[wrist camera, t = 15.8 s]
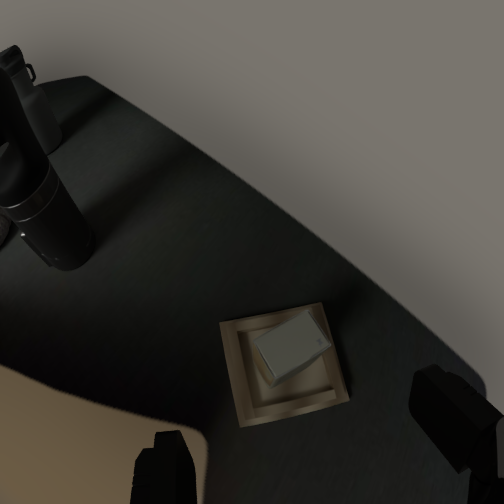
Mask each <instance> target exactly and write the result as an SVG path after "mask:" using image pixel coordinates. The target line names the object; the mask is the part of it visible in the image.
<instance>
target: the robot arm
mask: <svg viewBox="0 0 504 504" xmlns="http://www.w3.org/2000/svg"><path fill="white" fill-rule="evenodd" d="M6 142H9V145H8V147H7V149H6V151H5V152H4V154H3V155H2V156H1V158H0V207H1V208H2V209H3V210H4V211H5V213H6V214H7V215H8V216H9V217H10V218H11V220H12V221H13V222H14V223H15V224H16V225H17V227H18V228H19V229H20V230H21V233H20V236H21V238H22V239H23V240H24V241H25V242H26V243H27V244H28V246H29V247H30V248H31V249H32V250H33V251H34V252H35V253H36V254H37V255H38V256H39V257H40V258H41V259H42V260H43V261H44V262H45V263H46V264H47V265H48V266H49V267H50V266H54V267H56V268H57V269H59V270H62V271H69V270H73V269H76V268H78V267H79V266H81V265H82V264H83V263H84V262H85V261H86V260H87V259H88V258H89V257H90V255H91V253H92V251H93V248H94V245H95V236H94V232H93V231H92V229H91V228H90V226H89V225H88V223H87V222H86V220H85V218H84V217H83V215H82V214H81V212H80V211H79V209H78V207H77V206H76V204H75V203H74V201H73V199H72V198H71V196H70V195H69V193H68V191H67V190H66V188H65V186H64V185H63V183H62V181H61V180H60V178H59V176H58V175H57V173H56V171H55V170H54V168H53V166H52V164H51V163H50V161H49V159H48V157H47V156H46V154H45V152H44V151H43V149H42V147H41V145H40V143H39V141H38V139H37V138H36V136H35V134H34V132H33V130H32V128H31V126H30V124H29V121H28V119H27V117H26V114H25V112H24V109H23V107H22V104H21V102H20V99H19V96H18V94H17V91H16V89H15V87H14V84H13V82H12V80H11V78H10V76H9V75H8V73H7V72H6V71H5V70H4V69H2V68H0V146H2V145H3V144H4V143H6ZM408 405H409V411H410V413H411V415H412V417H413V418H414V419H415V421H416V422H417V423H418V424H419V426H420V427H421V428H422V429H423V431H424V432H425V433H426V434H427V435H428V437H429V438H430V439H431V440H432V442H433V443H434V444H435V445H436V447H437V448H438V449H439V450H440V452H441V453H442V454H443V455H444V457H445V458H446V459H447V460H448V462H449V463H450V464H451V465H452V467H453V468H454V469H455V470H456V472H457V473H458V474H460V473H461V472H463V471H464V470H466V469H468V468H470V470H471V471H472V472H471V474H470V480H469V491H468V501H467V504H504V415H503V414H502V413H501V412H499V411H498V410H497V409H496V408H495V407H494V406H493V405H492V404H491V403H489V402H488V401H487V400H486V399H485V398H484V397H483V396H482V395H481V394H480V393H477V391H476V390H475V389H474V388H473V387H472V386H471V387H470V384H468V383H467V382H466V381H465V380H464V379H463V378H462V377H460V376H458V375H455V374H453V373H451V372H447V373H446V372H445V371H443V370H442V369H441V368H440V367H439V366H438V365H436V364H432V365H430V366H427V367H425V368H423V369H420V370H418V371H416V372H415V373H414V376H413V382H412V387H411V392H410V397H409V404H408ZM132 485H133V487H132V491H131V499H130V504H197V493H196V492H197V491H196V473H195V466H194V462H193V459H192V456H191V454H190V452H189V450H188V447H187V445H186V443H185V440H184V438H183V436H182V434H181V432H180V430H174V431H164V432H156V434H155V439H154V448H144V449H143V450H142V451H141V453H140V454H139V456H138V457H137V459H136V461H135V467H134V476H133V482H132Z"/></svg>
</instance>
